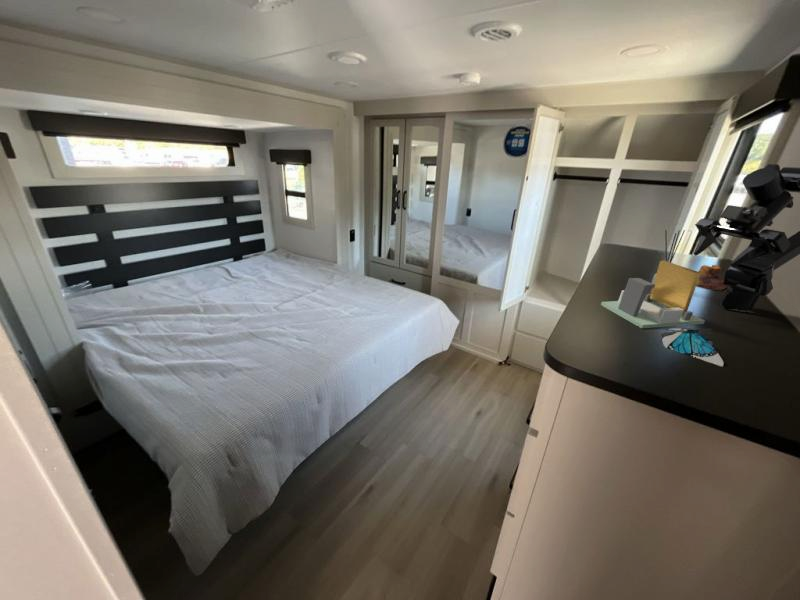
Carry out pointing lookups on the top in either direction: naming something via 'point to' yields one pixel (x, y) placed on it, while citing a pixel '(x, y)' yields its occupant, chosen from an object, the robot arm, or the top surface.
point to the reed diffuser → (670, 250)
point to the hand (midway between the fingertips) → (712, 259)
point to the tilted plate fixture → (647, 308)
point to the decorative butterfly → (691, 345)
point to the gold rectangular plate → (674, 286)
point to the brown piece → (710, 278)
